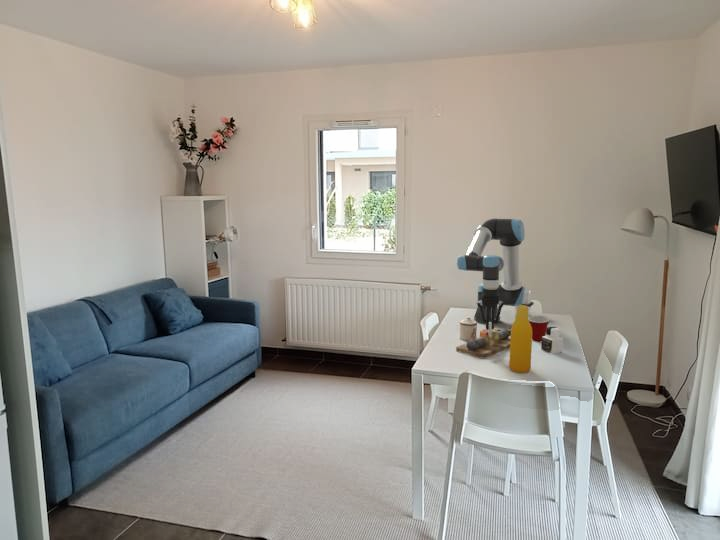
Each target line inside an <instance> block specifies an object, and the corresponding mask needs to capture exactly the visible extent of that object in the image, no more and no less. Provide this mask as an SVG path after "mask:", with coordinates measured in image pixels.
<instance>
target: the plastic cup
mask: <svg viewBox="0 0 720 540" xmlns="http://www.w3.org/2000/svg"><path fill="white" fill-rule="evenodd" d="M528 318H529V322H530V325H531V327H532V342H537V341H538V343H539V342H540V341H542V336H546V328H547V327H548V325H549V322H550V318H549V317H548V316H544V315H530V316H529V317H528Z"/></svg>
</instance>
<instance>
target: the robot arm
mask: <svg viewBox="0 0 720 540" xmlns="http://www.w3.org/2000/svg"><path fill="white" fill-rule="evenodd" d="M525 233H526V232H525V226H524V222H523V221H522V220H521V219H516V218H489V219H487V220H485V221H483V222H482V223H480V224H479V225H478V226H477V227H476V228H475V230H474V233H473V234H474V235H473V238H472V241H471V243H470V245H469V246H468V248H467V251H466V252H465V254H461V255H459V256H458V257H457V261H456V262H457V263H456V264H457V265H456V266H457V269H458V270H460V271H471V272H482V282H481V283H479V284H478V286H477V287H478V288H477V301H476V305H477V307H476V308H477V309H476V310H475V313H474V316H473V320H474V321H476V322H477V323H480V324H485V329H487V330H488V336H489V337H491V336H492V330H495V324H499V323H501V312H502V309H503V307H504V306H510V307H515V306H518V305H522V303H523V299H524V293H525V292H526V287H525V286H523V283H522V282H521V281H520V250H519V249H520V248H519V247H520V245H522V242H523V241H524V240H525ZM492 240H493V241H494V240H496V241H499V245H500V246H502V257H501V256H499V255H496V254H495V255H494V254H487V255H484V256H482V255H483V253H484V251H485V248H486V246H487V244H488V243H489V242H490V241H492ZM502 270H503V281H502V282H501V284H500V272H501V271H502Z"/></svg>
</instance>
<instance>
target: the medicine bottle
mask: <svg viewBox="0 0 720 540" xmlns="http://www.w3.org/2000/svg"><path fill="white" fill-rule="evenodd" d="M540 347H541V348H540V349H541V351H542V350H543V352H544V353H547V352H548V354H550V353H551V354H550V355H554V354H553V353H555V354H559V352H561V353H563V347H564V338H563V337H560V328H558V327H557V326H547V328H546V334H545V336H542V342H541V346H540Z"/></svg>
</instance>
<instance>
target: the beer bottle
mask: <svg viewBox="0 0 720 540" xmlns="http://www.w3.org/2000/svg"><path fill="white" fill-rule="evenodd" d="M509 338H510V348H509V361H508V369H509V370H510V371H511V372H514V373H516V374H517V373H518V374H526V373H530V371H531V368H532V350H533V349H532V347H533V345H532V344H533V340H532V327H531V325H530V322H529V317H528V306H526V305H518V308H517V314H516V316H515V320H514V321H513V323H512V325H511V328H510V336H509Z"/></svg>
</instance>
